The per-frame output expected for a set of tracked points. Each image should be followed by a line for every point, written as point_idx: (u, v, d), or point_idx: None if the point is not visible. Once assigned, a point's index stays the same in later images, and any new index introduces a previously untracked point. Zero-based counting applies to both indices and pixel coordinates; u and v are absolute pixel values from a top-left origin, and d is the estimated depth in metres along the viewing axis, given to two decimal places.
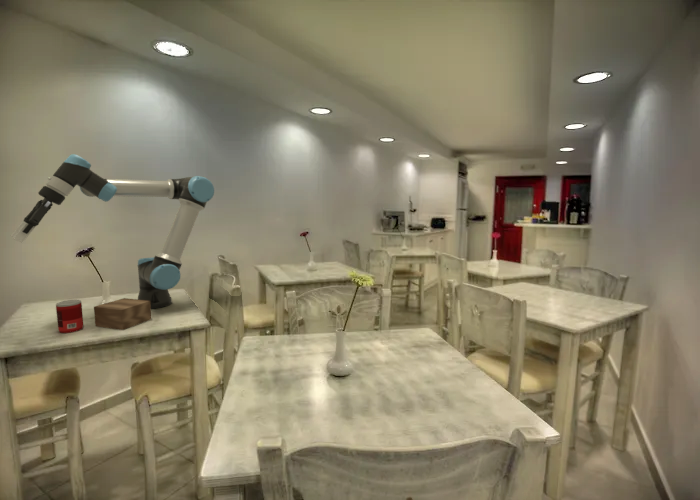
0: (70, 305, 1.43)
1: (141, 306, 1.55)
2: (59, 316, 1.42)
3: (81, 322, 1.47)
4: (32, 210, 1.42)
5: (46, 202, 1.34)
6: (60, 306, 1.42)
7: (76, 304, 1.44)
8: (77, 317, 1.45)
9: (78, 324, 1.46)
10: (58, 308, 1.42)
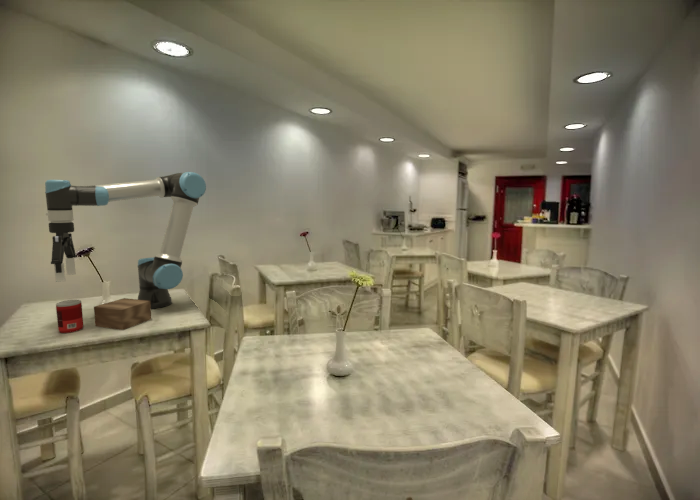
0: (70, 305, 1.43)
1: (141, 306, 1.55)
2: (59, 316, 1.42)
3: (81, 322, 1.47)
4: None
5: (54, 238, 1.36)
6: (60, 306, 1.42)
7: (76, 304, 1.44)
8: (77, 317, 1.45)
9: (78, 324, 1.46)
10: (58, 308, 1.42)
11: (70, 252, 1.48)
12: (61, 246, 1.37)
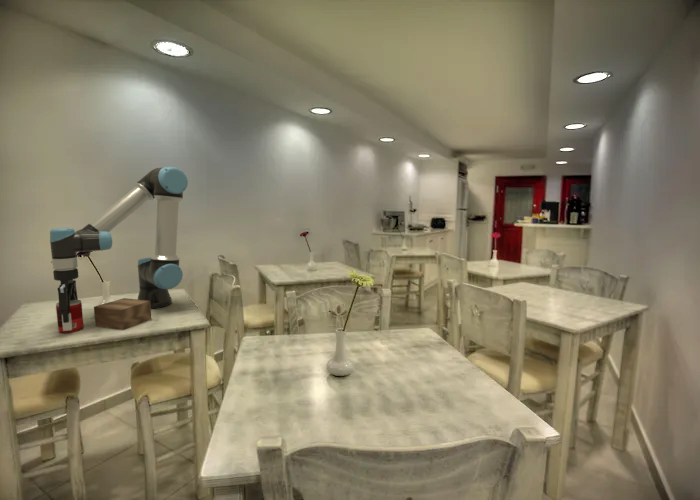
0: (70, 305, 1.43)
1: (141, 306, 1.55)
2: (59, 316, 1.42)
3: (81, 322, 1.47)
4: None
5: (59, 289, 1.38)
6: None
7: (76, 304, 1.44)
8: (77, 317, 1.45)
9: (78, 324, 1.46)
10: (58, 308, 1.42)
11: None
12: (67, 296, 1.40)
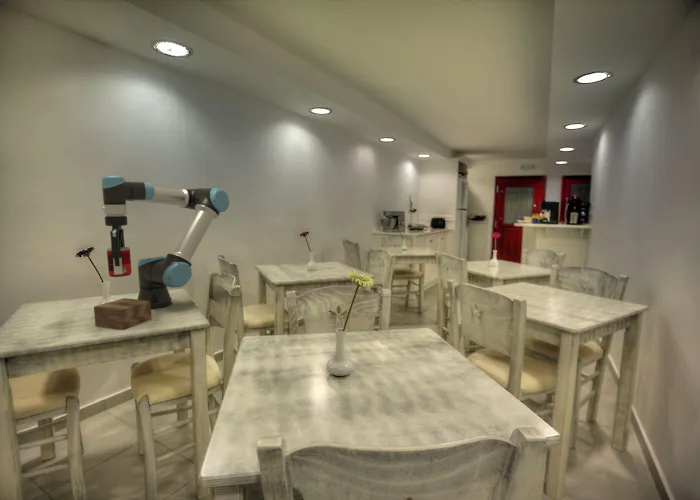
0: (120, 250, 1.49)
1: (141, 306, 1.55)
2: (110, 260, 1.48)
3: (130, 268, 1.53)
4: None
5: (112, 233, 1.44)
6: (111, 250, 1.48)
7: (126, 250, 1.51)
8: (126, 263, 1.51)
9: (127, 269, 1.52)
10: (109, 252, 1.48)
11: None
12: (118, 240, 1.46)
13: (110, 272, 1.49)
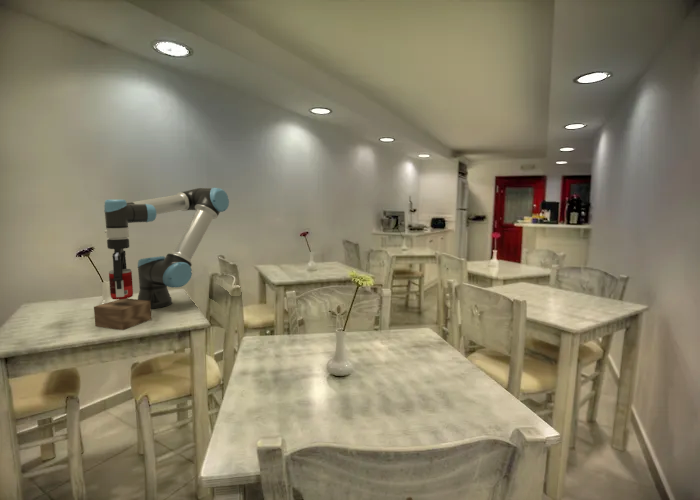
0: (122, 273, 1.50)
1: (141, 306, 1.55)
2: (112, 283, 1.49)
3: (131, 290, 1.54)
4: None
5: (114, 257, 1.45)
6: (113, 273, 1.49)
7: (127, 272, 1.52)
8: (128, 285, 1.52)
9: (129, 292, 1.53)
10: (111, 275, 1.49)
11: None
12: (120, 263, 1.47)
13: (112, 294, 1.50)
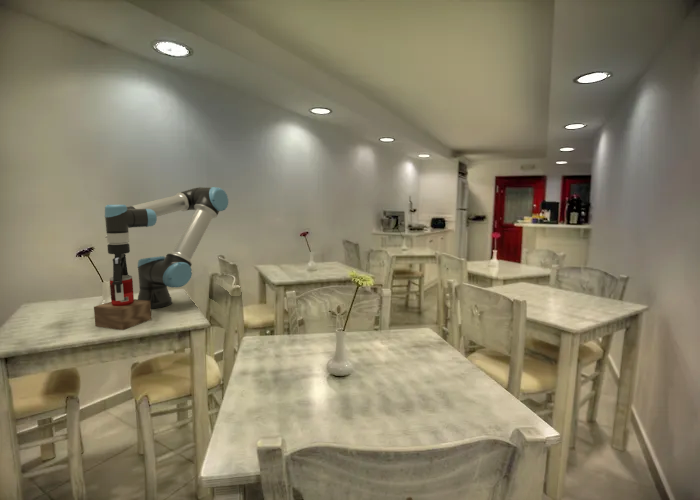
0: (123, 279, 1.50)
1: (141, 306, 1.55)
2: (113, 290, 1.50)
3: (132, 296, 1.55)
4: None
5: (114, 260, 1.46)
6: None
7: (128, 279, 1.52)
8: (129, 292, 1.53)
9: (130, 298, 1.53)
10: (112, 282, 1.50)
11: (124, 272, 1.58)
12: (120, 267, 1.47)
13: (113, 301, 1.51)
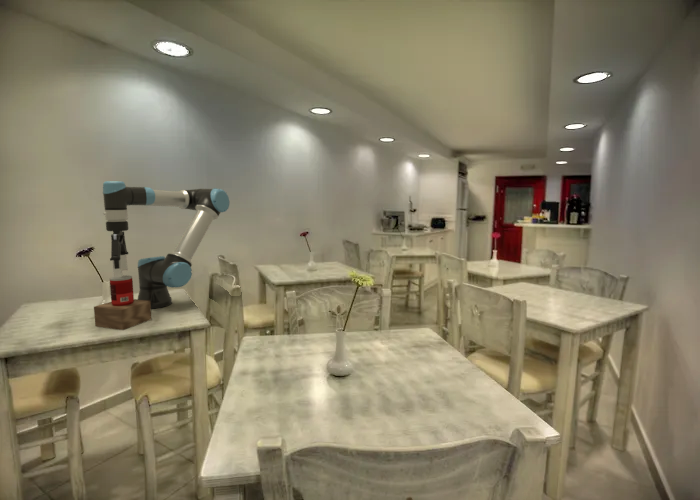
0: (123, 279, 1.51)
1: (141, 306, 1.55)
2: (113, 290, 1.50)
3: (132, 296, 1.55)
4: None
5: (113, 236, 1.44)
6: (114, 280, 1.49)
7: (128, 279, 1.52)
8: (129, 292, 1.53)
9: (130, 298, 1.53)
10: (112, 282, 1.50)
11: (123, 249, 1.57)
12: (119, 243, 1.46)
13: (113, 301, 1.51)
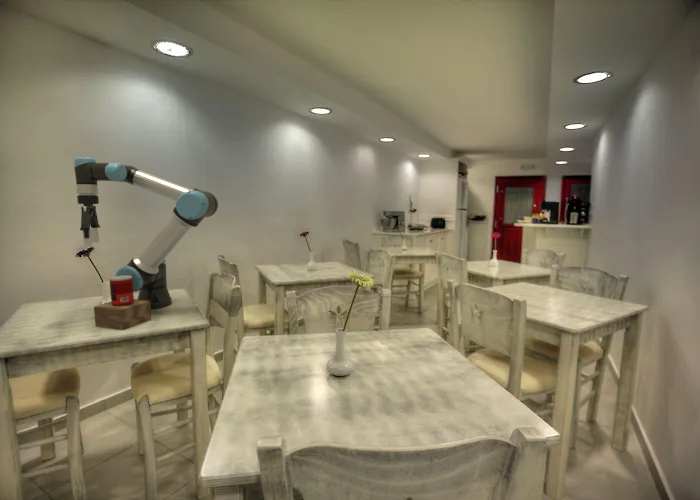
0: (123, 279, 1.51)
1: (141, 306, 1.55)
2: (113, 290, 1.50)
3: (132, 296, 1.55)
4: None
5: (83, 208, 1.56)
6: (114, 280, 1.49)
7: (128, 279, 1.52)
8: (129, 292, 1.53)
9: (130, 298, 1.53)
10: (112, 282, 1.50)
11: (94, 222, 1.69)
12: (88, 215, 1.57)
13: (113, 301, 1.51)
